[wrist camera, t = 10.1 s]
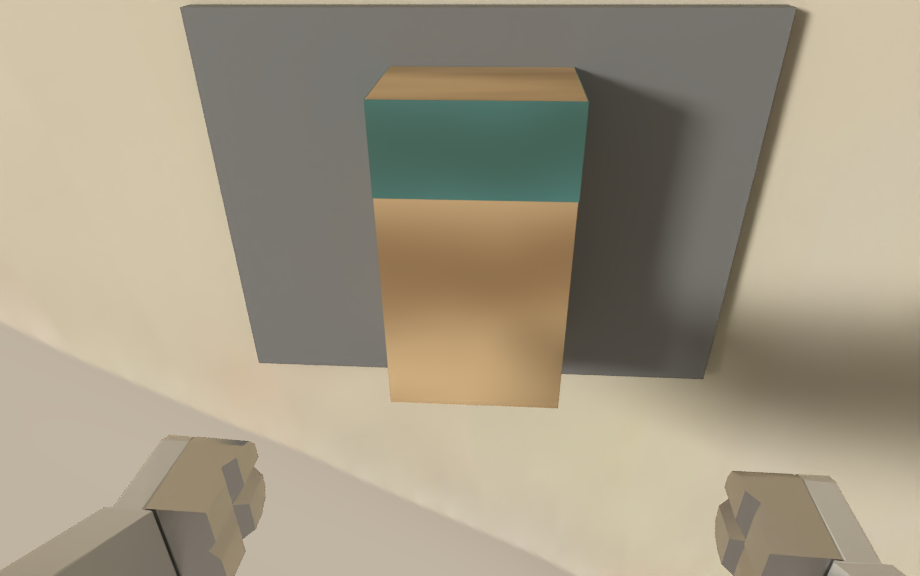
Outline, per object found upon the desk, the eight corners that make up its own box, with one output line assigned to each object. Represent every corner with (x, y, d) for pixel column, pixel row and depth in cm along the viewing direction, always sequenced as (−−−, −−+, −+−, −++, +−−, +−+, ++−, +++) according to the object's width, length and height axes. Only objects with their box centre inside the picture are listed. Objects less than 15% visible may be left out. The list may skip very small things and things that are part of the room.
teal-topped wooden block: (551, 338, 21) (558, 408, 18) (406, 333, 22) (389, 401, 19) (574, 67, 17) (589, 101, 14) (389, 66, 17) (363, 99, 14)
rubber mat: (787, 4, 16) (796, 7, 16) (698, 368, 22) (703, 378, 22) (190, 4, 17) (180, 7, 17) (264, 353, 23) (259, 362, 23)
